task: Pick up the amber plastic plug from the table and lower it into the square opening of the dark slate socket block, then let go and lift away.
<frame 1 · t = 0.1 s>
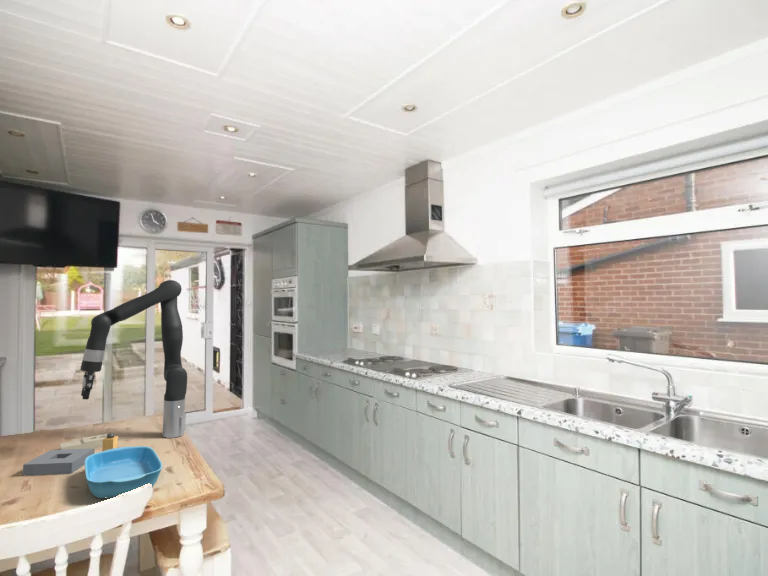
hand: (84, 397, 180), 22 cm above the table, tool pointing down, fingers open, 8 cm apart
plug: (109, 454, 174), on the table
socket: (60, 466, 160), on the table
casserole dish: (122, 482, 148), on the table
electrical outlet: (86, 448, 182), on the table
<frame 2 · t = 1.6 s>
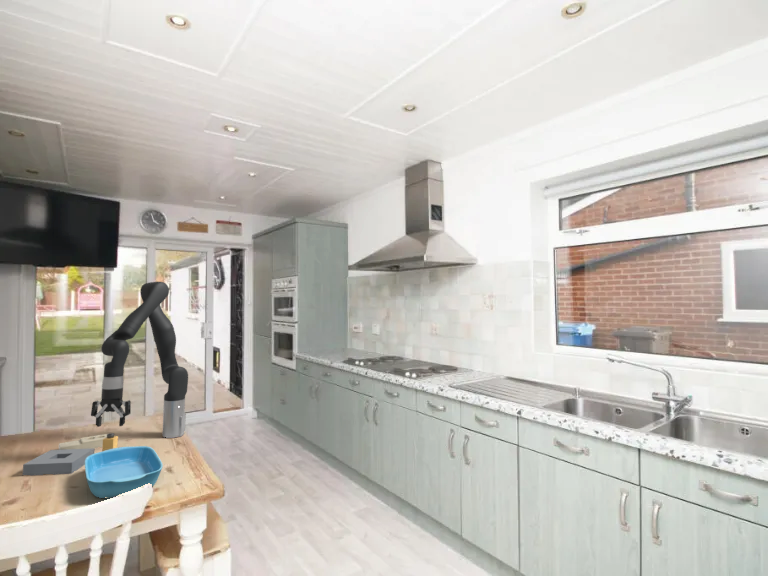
hand: (110, 426, 174), 12 cm above the table, tool pointing down, fingers open, 8 cm apart
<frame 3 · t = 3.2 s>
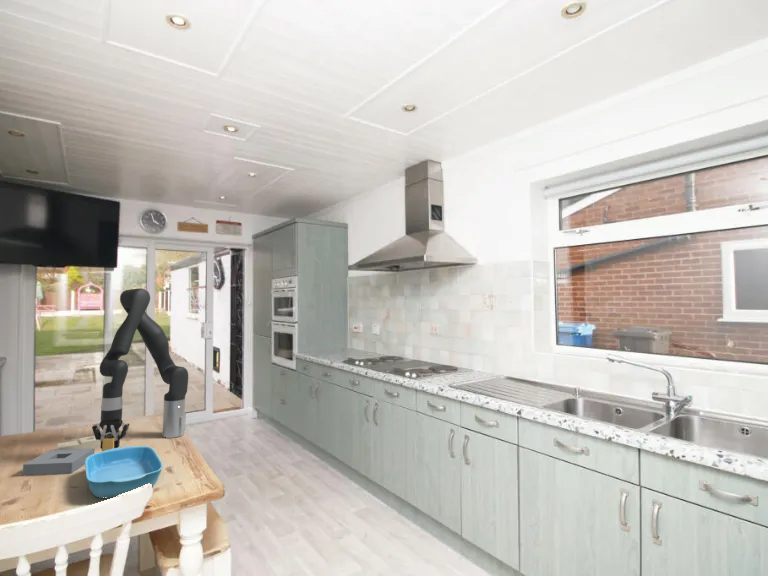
hand: (109, 449, 174), 2 cm above the table, tool pointing down, fingers closed on plug, 4 cm apart
plug: (109, 454, 174), on the table, touching gripper
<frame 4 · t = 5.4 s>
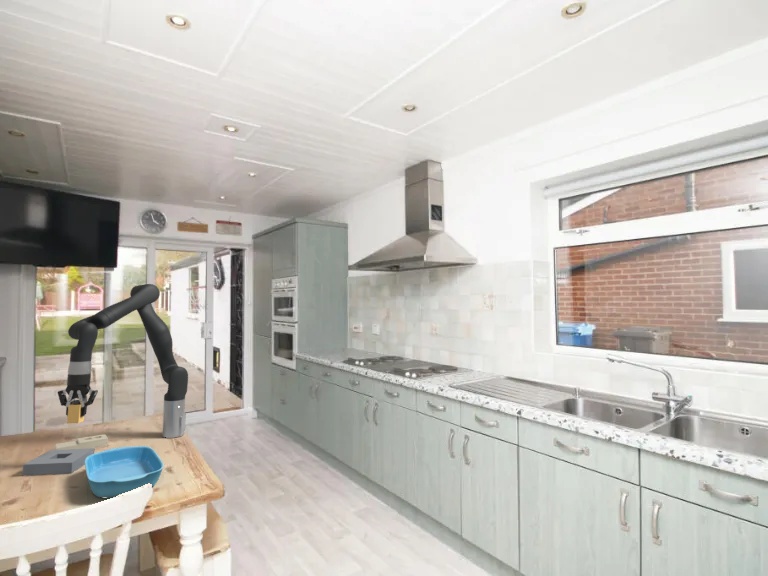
hand: (75, 416, 164), 18 cm above the table, tool pointing down, fingers closed on plug, 4 cm apart
plug: (75, 422, 164), point 16 cm above the table, touching gripper
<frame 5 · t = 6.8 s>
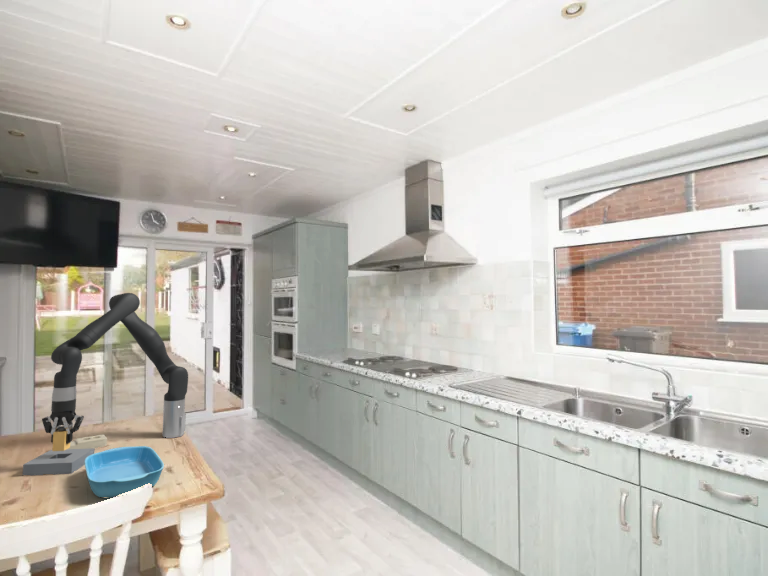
hand: (61, 443, 160), 9 cm above the table, tool pointing down, fingers closed on plug, 4 cm apart
plug: (61, 449, 160), point 7 cm above the table, touching gripper
when the fingers open (5 cm above the table, at t = 7.8 s): plug drops 2 cm, resting on socket.
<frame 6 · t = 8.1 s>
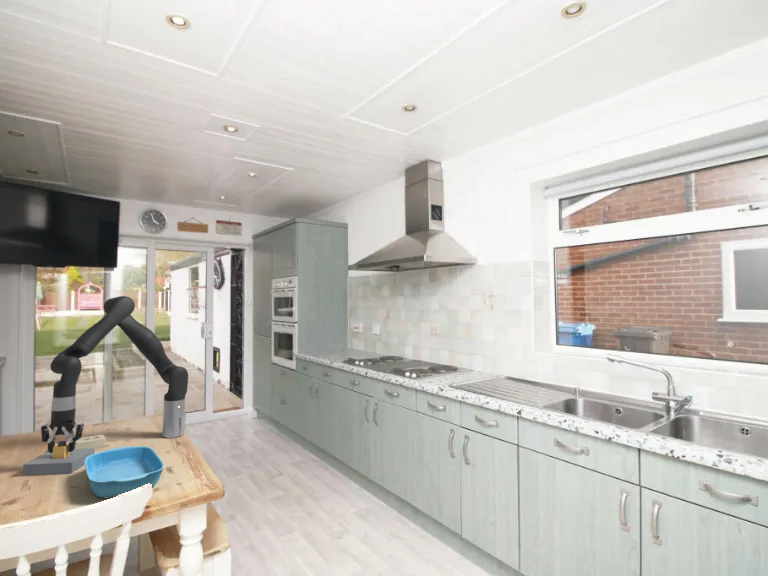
hand: (61, 451, 160), 6 cm above the table, tool pointing down, fingers open, 6 cm apart
plug: (61, 463, 160), point 1 cm above the table, touching socket
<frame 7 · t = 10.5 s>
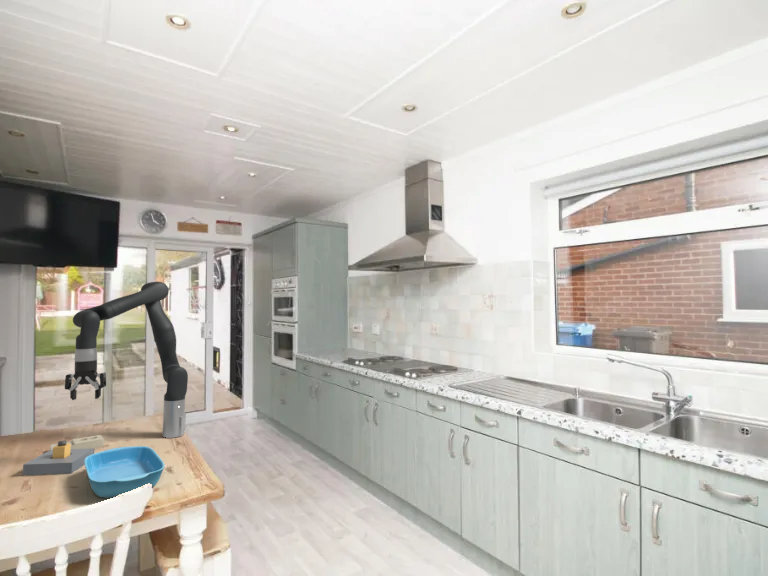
hand: (85, 398, 171), 24 cm above the table, tool pointing down, fingers open, 8 cm apart
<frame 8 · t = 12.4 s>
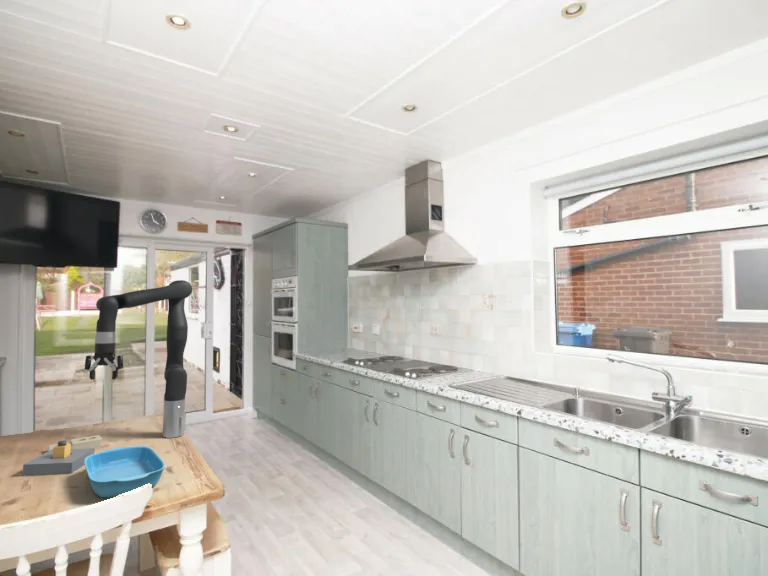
hand: (103, 379, 181), 30 cm above the table, tool pointing down, fingers open, 8 cm apart
at the end: plug 0.2 cm off-centre on the socket, point 1.0 cm above the socket's base; plug tilted 0°; the gripper is holding nothing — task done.
